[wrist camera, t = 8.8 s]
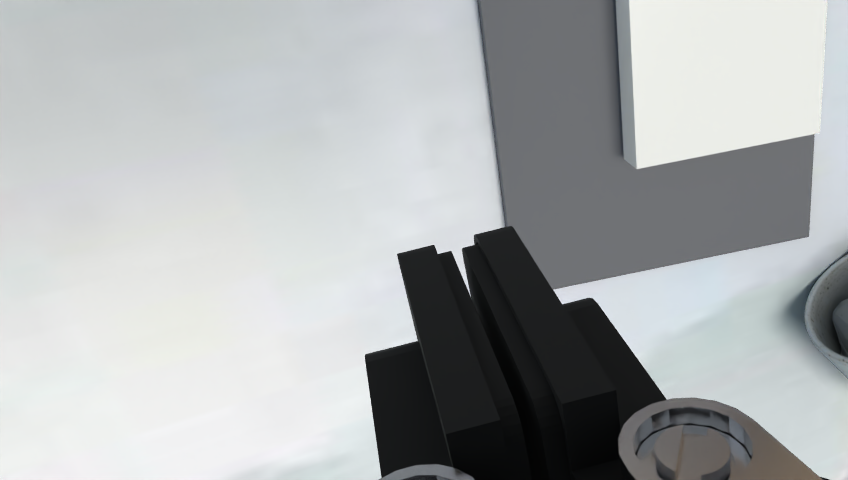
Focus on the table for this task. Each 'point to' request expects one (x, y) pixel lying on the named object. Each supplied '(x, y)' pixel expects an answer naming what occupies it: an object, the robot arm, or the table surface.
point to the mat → (615, 157)
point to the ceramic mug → (830, 314)
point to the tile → (717, 75)
